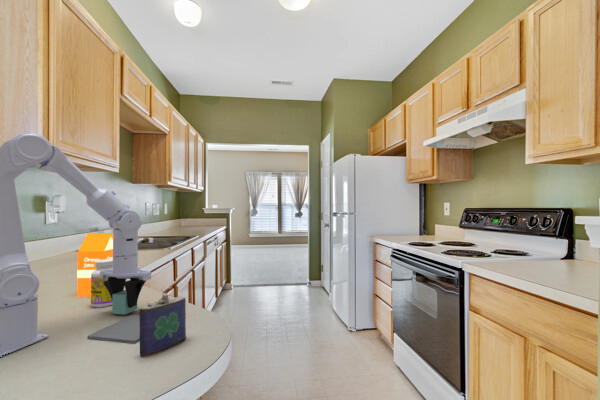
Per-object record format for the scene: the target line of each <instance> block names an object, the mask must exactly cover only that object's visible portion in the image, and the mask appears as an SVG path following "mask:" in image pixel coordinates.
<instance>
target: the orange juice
mask: <svg viewBox="0 0 600 400" xmlns="http://www.w3.org/2000/svg"><path fill="white" fill-rule="evenodd" d="M105 259H113V232H105V233H104V232H103V233H102V232H101V233H100V232H99V233H95V232H93V233H91V232H90V233H86V235H85V238H84V240H83V242H82V243H81V244H80V247H79V249H78V251H77V271H76V279H77V280H76V281H77V287H76V288H77V289H76V290H77V291H76V293H77V295H76V296H77V298H80V297H81V298H82V297H87V298H88V297H90V298H91V273H92V272H93V271H94V270H96V266H95V262H96V261H99V260H105Z"/></svg>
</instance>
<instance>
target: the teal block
mask: <svg viewBox="0 0 600 400" xmlns="http://www.w3.org/2000/svg"><path fill="white" fill-rule="evenodd" d="M111 306H112V310H111V311H112V313H111V314H114V315H128V314H129V313H132V312H134V311H136V310H138V303H137V304H136V306H133V307H131V308H128V304H127V292H126V289H124V290H123V291H121V292H118V293H115V294H113V295H112V305H111Z"/></svg>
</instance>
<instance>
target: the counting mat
mask: <svg viewBox="0 0 600 400" xmlns="http://www.w3.org/2000/svg"><path fill="white" fill-rule="evenodd" d="M139 318H140V314H131V315H128V316H126V317H125V318H123V319H122V318H121V319H120V320H118V321H116V322H113V323H111V324H109V325H108V326H105V327H103V328H101V329H98V330H97V331H95V332H92V333H91V334H89V335H87V340H88V339H89V340H96V341H97V340H98V341H107V342H115V343H117V342H118V343H125V344H134V345H135V344H137V343H138V342H140V319H139Z"/></svg>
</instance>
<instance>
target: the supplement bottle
mask: <svg viewBox="0 0 600 400" xmlns="http://www.w3.org/2000/svg"><path fill="white" fill-rule="evenodd" d="M95 266H96V270H94V271H93V272H92V273H91V297H90V306H91V307H92V308H105V307H110V306H112V299H111V296H110V293H109V291H108V290H107V288H106V287H105V285H104V281H107V280H108V278H100V271H103V270H113V259H105V260H99V261H96V262H95Z"/></svg>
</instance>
